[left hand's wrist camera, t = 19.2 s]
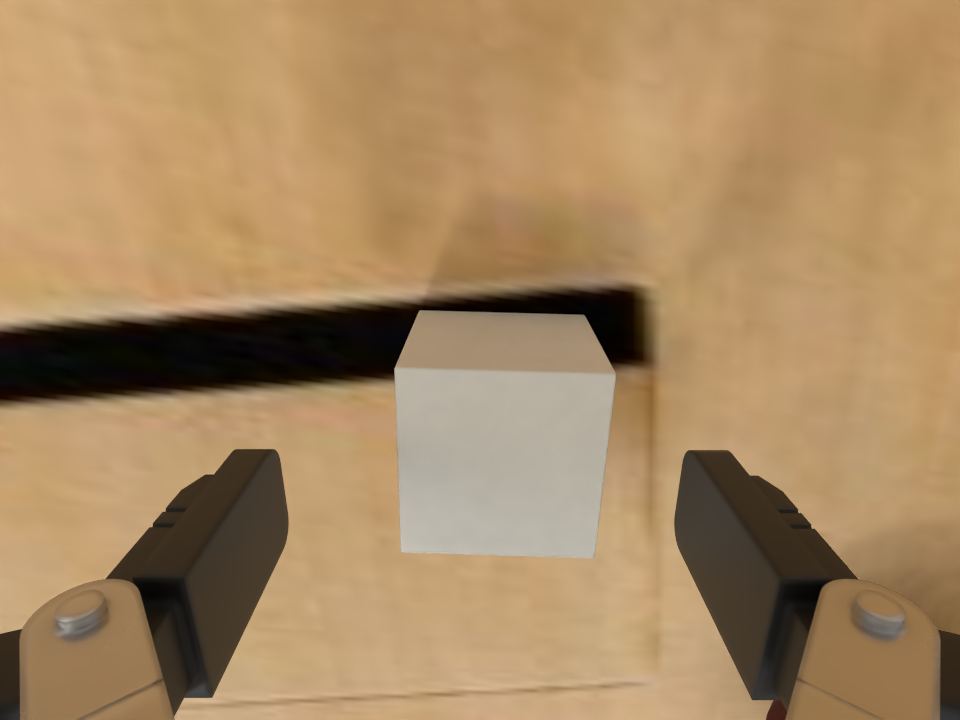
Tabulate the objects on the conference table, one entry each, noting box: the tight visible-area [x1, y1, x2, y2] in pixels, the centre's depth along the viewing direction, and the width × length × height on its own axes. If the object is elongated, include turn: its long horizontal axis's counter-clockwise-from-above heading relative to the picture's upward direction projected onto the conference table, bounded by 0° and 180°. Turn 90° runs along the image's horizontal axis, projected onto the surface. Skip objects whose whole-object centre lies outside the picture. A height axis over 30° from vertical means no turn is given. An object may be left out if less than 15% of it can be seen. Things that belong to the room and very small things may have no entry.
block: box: [395, 310, 616, 558], centre depth 15 cm, size 5×5×4 cm
